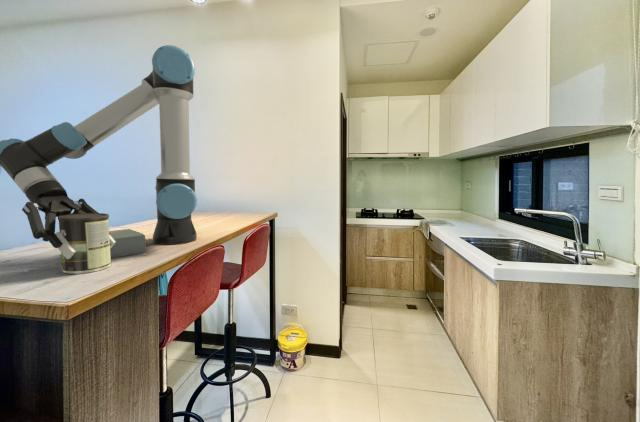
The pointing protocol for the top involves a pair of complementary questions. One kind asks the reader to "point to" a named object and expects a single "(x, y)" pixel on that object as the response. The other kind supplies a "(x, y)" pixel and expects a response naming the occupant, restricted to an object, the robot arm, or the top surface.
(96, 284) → the top surface
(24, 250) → the top surface
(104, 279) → the top surface
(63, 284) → the top surface
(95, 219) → the coffee can
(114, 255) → the base block
